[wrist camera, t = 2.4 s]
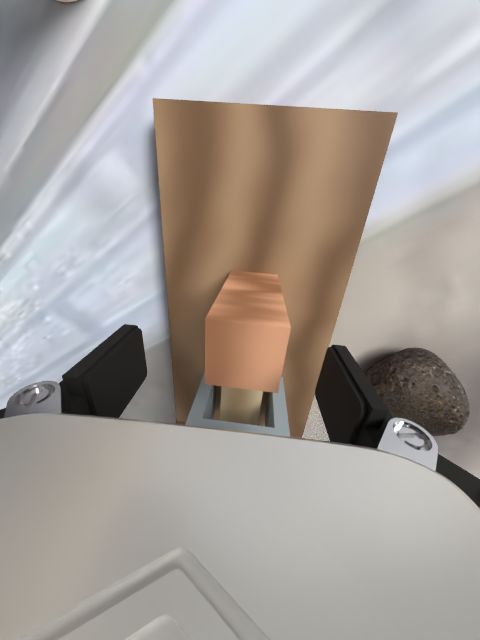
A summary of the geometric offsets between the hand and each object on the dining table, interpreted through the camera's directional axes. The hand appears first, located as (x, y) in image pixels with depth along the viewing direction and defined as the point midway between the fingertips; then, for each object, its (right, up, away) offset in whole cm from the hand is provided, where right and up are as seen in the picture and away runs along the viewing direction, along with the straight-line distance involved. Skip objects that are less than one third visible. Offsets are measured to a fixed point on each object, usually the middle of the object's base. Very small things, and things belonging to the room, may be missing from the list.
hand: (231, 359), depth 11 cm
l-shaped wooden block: (+1, -2, +12) cm, 12 cm away
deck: (+1, -1, +14) cm, 14 cm away
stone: (+18, -4, +14) cm, 23 cm away
